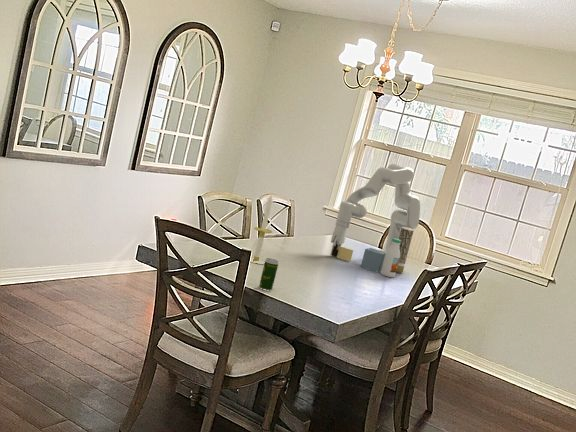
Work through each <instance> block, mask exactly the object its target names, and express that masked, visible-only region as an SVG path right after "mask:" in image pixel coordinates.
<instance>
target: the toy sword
mask: <svg viewBox="0 0 576 432" xmlns="http://www.w3.org/2000/svg"><path fill="white" fill-rule="evenodd" d="M272 203H273V195H272V193H271V194H270V196H269V197H268V198H267V202H266V205H265V206H266V207H265V210H264V214H263V218H262V224H261V226H260V227H259V226H255V227H254V228H253V229H254V230H256V231H257V232H259V234H258V238H257V243H256V247H255V251H254V255H253V258H254V259H253V262H254V261H259V260H260V257H261V253H262V248H263V244H264V240H265V235H266V234H272V233H273V231H272V230H270V229H267V225H268V220H269V217H270V211H271V208H272Z"/></svg>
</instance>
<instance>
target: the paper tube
mask: <svg viewBox="0 0 576 432" xmlns="http://www.w3.org/2000/svg"><path fill="white" fill-rule="evenodd" d="M414 231H415V229H414V230H413V229H411V228H407V227H402V228H401V232H400V236H399V240H401V243H400V245H399V249H400V259H399V263H398V267H397V270H396V272H397V273H398V274H402V273H403V272H404V269H405V266H406V262H407V258H408V255H409V251H410V246H411V242H412V238H413V235H414Z"/></svg>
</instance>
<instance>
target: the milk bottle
mask: <svg viewBox="0 0 576 432" xmlns="http://www.w3.org/2000/svg"><path fill="white" fill-rule="evenodd" d="M400 243H401V240H399V239H395V238H393V239H392V244H391V246H390V247H389V249H388V250H387V252H386V254H385V258H384V262H383V265H382V269H381V271H380V275H382V276H385V277H389V278H396V277H395V276H396V270H397V267H398V263H399V259H400V249H399V245H400Z"/></svg>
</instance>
